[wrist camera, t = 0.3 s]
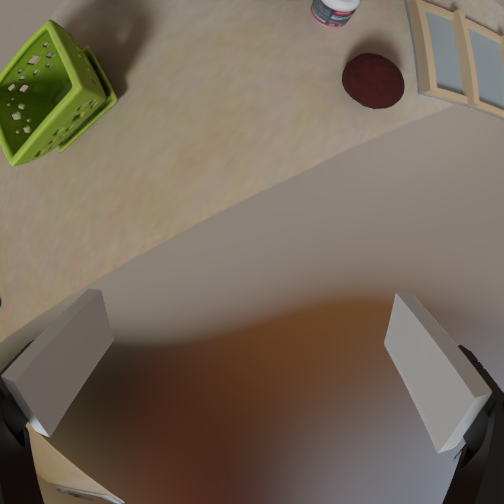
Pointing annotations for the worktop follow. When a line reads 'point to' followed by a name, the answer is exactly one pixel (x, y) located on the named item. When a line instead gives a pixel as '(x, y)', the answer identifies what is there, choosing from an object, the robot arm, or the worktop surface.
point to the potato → (373, 81)
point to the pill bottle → (333, 11)
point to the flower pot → (50, 95)
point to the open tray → (457, 58)
